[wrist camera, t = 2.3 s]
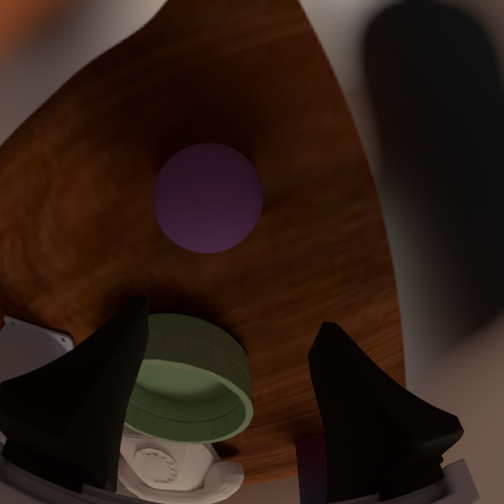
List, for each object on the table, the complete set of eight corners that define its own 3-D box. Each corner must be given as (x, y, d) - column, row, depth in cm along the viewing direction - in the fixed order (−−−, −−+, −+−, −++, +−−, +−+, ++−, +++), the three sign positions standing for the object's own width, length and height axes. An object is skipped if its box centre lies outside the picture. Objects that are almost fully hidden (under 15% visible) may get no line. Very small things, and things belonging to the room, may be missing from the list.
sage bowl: (121, 390, 28) (110, 429, 23) (105, 297, 22) (81, 342, 17) (237, 407, 29) (238, 449, 24) (263, 321, 24) (270, 372, 19)
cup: (334, 445, 37) (353, 526, 23) (291, 453, 37) (303, 537, 23) (336, 426, 34) (360, 520, 20) (287, 437, 34) (301, 534, 20)
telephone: (247, 463, 38) (250, 513, 30) (134, 461, 38) (128, 505, 30) (229, 420, 31) (230, 489, 22) (89, 417, 31) (73, 471, 23)
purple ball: (162, 220, 19) (136, 264, 14) (172, 132, 17) (144, 142, 11) (249, 234, 20) (254, 281, 15) (267, 147, 17) (282, 163, 12)
